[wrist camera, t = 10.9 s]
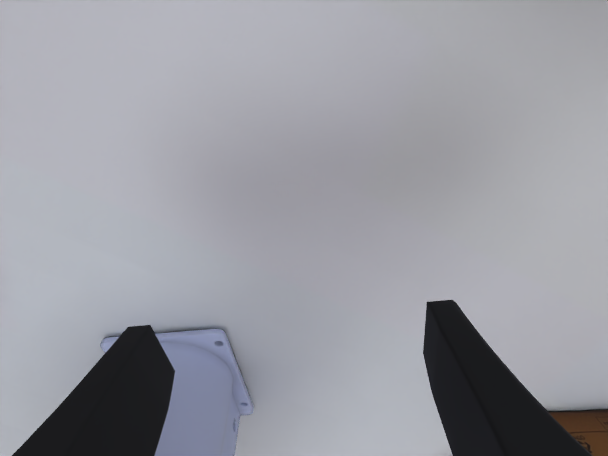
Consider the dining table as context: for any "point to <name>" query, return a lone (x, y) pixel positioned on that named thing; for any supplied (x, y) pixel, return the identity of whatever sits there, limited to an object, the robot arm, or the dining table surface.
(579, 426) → the pancake mix bag
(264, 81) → the dining table surface
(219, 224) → the dining table surface
